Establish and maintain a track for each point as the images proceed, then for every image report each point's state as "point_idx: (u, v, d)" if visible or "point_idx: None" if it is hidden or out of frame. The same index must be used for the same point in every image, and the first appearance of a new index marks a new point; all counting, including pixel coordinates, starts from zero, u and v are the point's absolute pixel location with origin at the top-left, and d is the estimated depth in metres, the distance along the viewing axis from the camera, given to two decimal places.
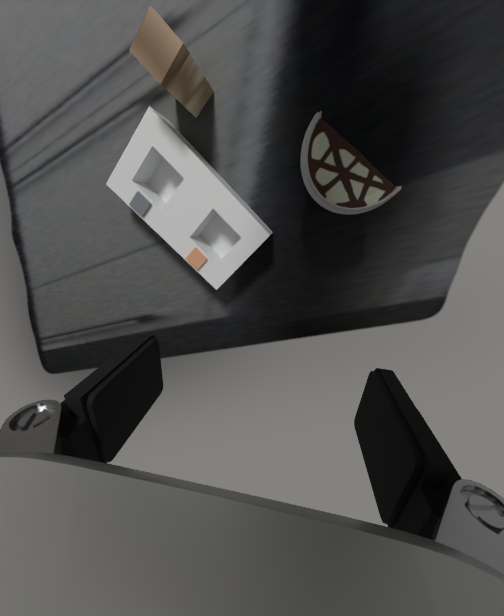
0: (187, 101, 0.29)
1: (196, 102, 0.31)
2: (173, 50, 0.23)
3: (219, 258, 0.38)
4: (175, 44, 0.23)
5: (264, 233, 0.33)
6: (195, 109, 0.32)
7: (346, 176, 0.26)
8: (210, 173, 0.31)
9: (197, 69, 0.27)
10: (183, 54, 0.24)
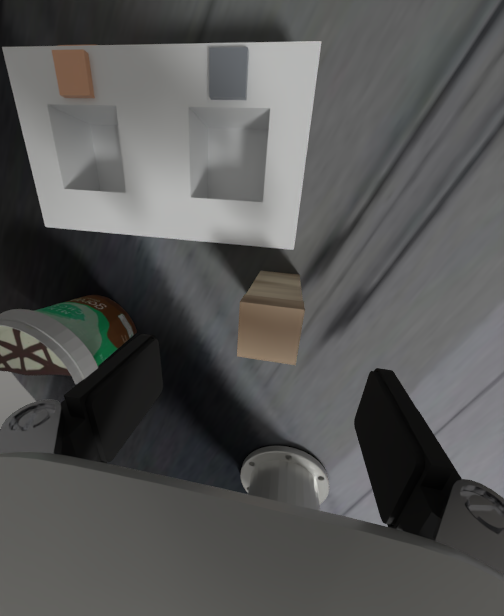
0: None
1: None
2: (244, 343, 0.16)
3: (84, 119, 0.20)
4: (245, 350, 0.16)
5: (51, 221, 0.21)
6: None
7: (16, 351, 0.21)
8: (164, 235, 0.19)
9: None
10: None
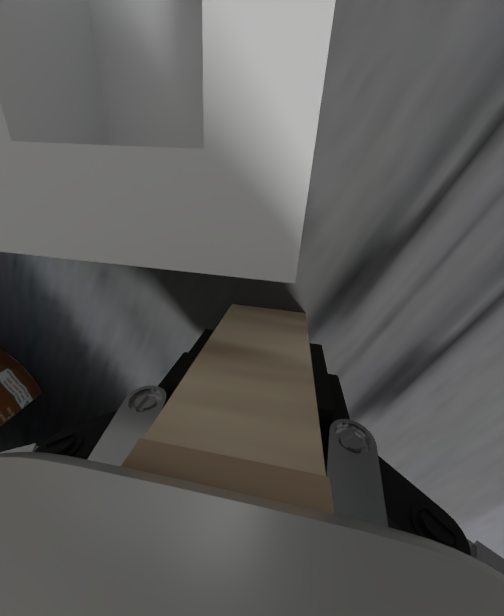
0: None
1: None
2: None
3: None
4: None
5: None
6: None
7: None
8: None
9: None
10: None
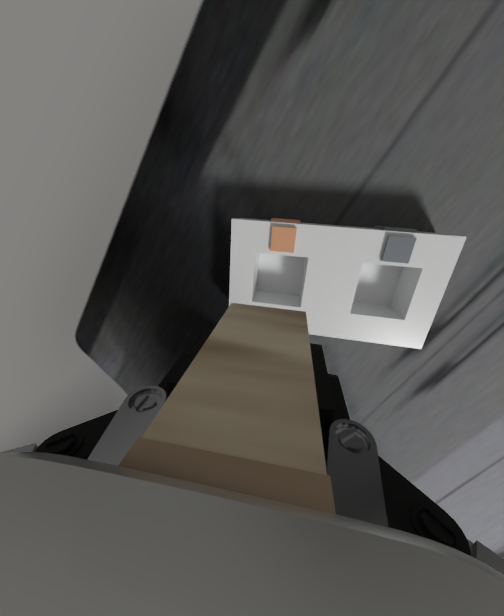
0: None
1: None
2: None
3: None
4: None
5: None
6: None
7: None
8: (323, 334, 0.27)
9: None
10: None
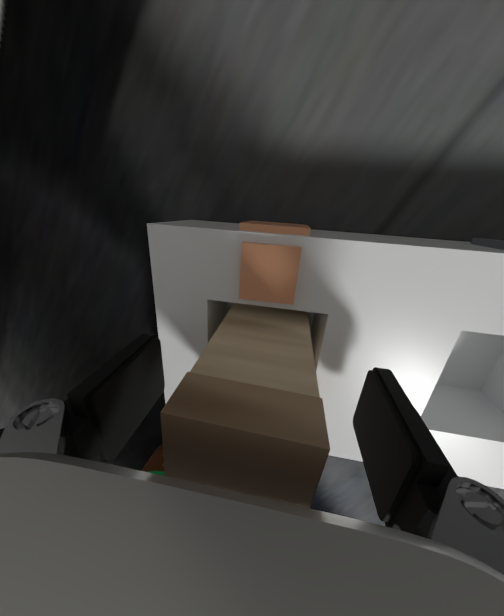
0: None
1: None
2: None
3: None
4: None
5: None
6: None
7: None
8: (353, 457, 0.13)
9: None
10: None
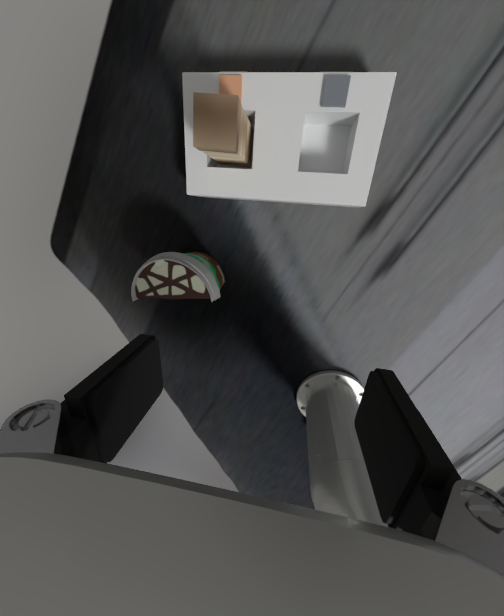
0: None
1: None
2: (197, 133, 0.22)
3: None
4: (198, 139, 0.22)
5: (192, 190, 0.30)
6: None
7: (166, 281, 0.31)
8: (275, 198, 0.29)
9: (208, 153, 0.26)
10: None
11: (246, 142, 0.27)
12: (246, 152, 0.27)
